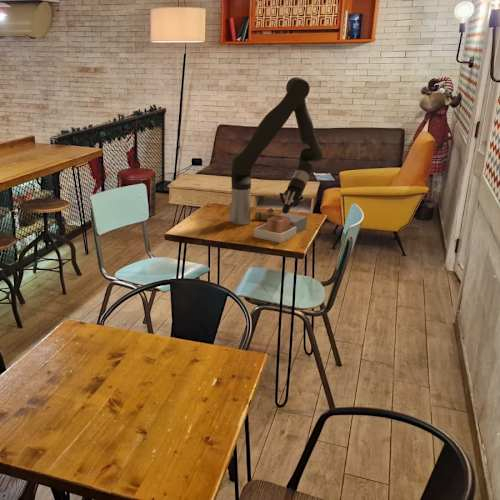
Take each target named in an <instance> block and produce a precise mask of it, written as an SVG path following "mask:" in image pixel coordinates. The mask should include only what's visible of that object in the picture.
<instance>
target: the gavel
mask: <svg viewBox="0 0 500 500" xmlns="http://www.w3.org/2000/svg"><path fill="white" fill-rule="evenodd" d="M276 215H277V214H276V212H274V209H273V208H269V209H268V210H267V211H264V212H262V211H259V210H256V211H255V213H254V220H255V221H260V220H261V221H267V219H268V218H271V217H273V216H276Z"/></svg>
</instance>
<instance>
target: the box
mask: <svg viewBox="0 0 500 500" xmlns="http://www.w3.org/2000/svg"><path fill="white" fill-rule="evenodd" d="M296 229H297V227H294V226H289V230H287V231H285V232H283V233H281V234H279V233H274V232H270V231H267V222H266V223H263V224H261V225H260V226H257V227H254V228H253V237H254V238H256V239H259V240H260V239H261V240H265V241H268V242H269V241H270V242H273V243H277V244H282V243H284V242H286V241H288V240H291V239H292V238H294V237H296V236H297V234H296Z"/></svg>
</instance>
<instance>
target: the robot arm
mask: <svg viewBox="0 0 500 500" xmlns="http://www.w3.org/2000/svg"><path fill="white" fill-rule="evenodd" d="M285 87H286V88H285V90H286V94H285V95H284V97H283V98H282V99H281V101H280V102H279V103H278V104H277V105H276V106H275V107H274V108H272V110H270V111H268V112H267V113H266V115H265V116H264V117H263V119H262V120H261V121H260V122H259V124H258V125H257V128H255V131H254V133H253V135H252V136H251V139H250V140H249V142H248V144H247V145H246V146H245V147H244V149H243V150H242V151H241V152H240V153H238V154H235V155H234V156H233V158H232V160H231V180H230V181H231V202H230V203H229V222H230V223H231V224H233V225H239V226H240V225H241V226H243V225H244V226H245V225H248V224H250V223H251V193H252V191H251V190H252V173H251V172H252V169H253V167H254V165H255V164H256V162H257V160H258V159H259V157H260V156H261V154H262V153H263V152H264V151H265V150H266V149H267V147H268V146H269V145H270V143H272V141H273V140H274V139H275V138H276V136H278V134H279V132H280V131H281V129H282V128H283V126H284V125H285V124H286V122H287V121H288V120H289V118H290V117H291V115H292V114H293V112H294V115H295V119H296V124H297V128H298V133H299V138H300V142H301V144H304V145H306V146H305V147H303V148H302V149H301V151H300V154H299V161H298V166H297V168H296V170H295V172H294V173H293V175H292V177H291V178H290V180H289V184H288V186H287V189H285V191H284V192H279V197H280V201H281V204H282V205H283V207H282V209H281V210H282V213H285V214H287V213H290V211H291V208H292V207H293V208H296V207H297V206H298V205H300V204H302V203H303V202H304V201H305V198H304V196H303V193H304V192H305V191H304V190H305V188H306V187H307V184H308V181H309V180H310V177H311V174H312V171H313V169H314V167H313V165H312V164H311V163H313V162H315V163H316V162H320V161H321V160H322V158H323V154H324V153H323V152H324V151H323V149H322V147H321V145H320V143H319V141H318V138H317V137H316V132H315V129H314V128H315V127H314V124H313V121H312V118H311V116H310V113H309V111H308V107H307V103H306V102H307V101H306V99H307V97H308V95H309V94H310V87H311V86H310V84H309V82H308V81H307V80H306V79H304V78H301V77H296V76H295V77H291V78H290V79H289V80H288V81H287V83H286V85H285ZM310 162H311V163H310Z"/></svg>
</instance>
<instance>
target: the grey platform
mask: <svg viewBox="0 0 500 500" xmlns="http://www.w3.org/2000/svg"><path fill="white" fill-rule="evenodd" d="M278 215H279V216H283V217H288V218H290V226H294V227H297V229H296V235H297V234H299V233H300V232H302V231H305V230H307V224H308V223H307V222H308V216H306V215H300V214H295V213H290V212H288V213H287V214H285V213H283V212H282V213H280V214H278Z"/></svg>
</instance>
